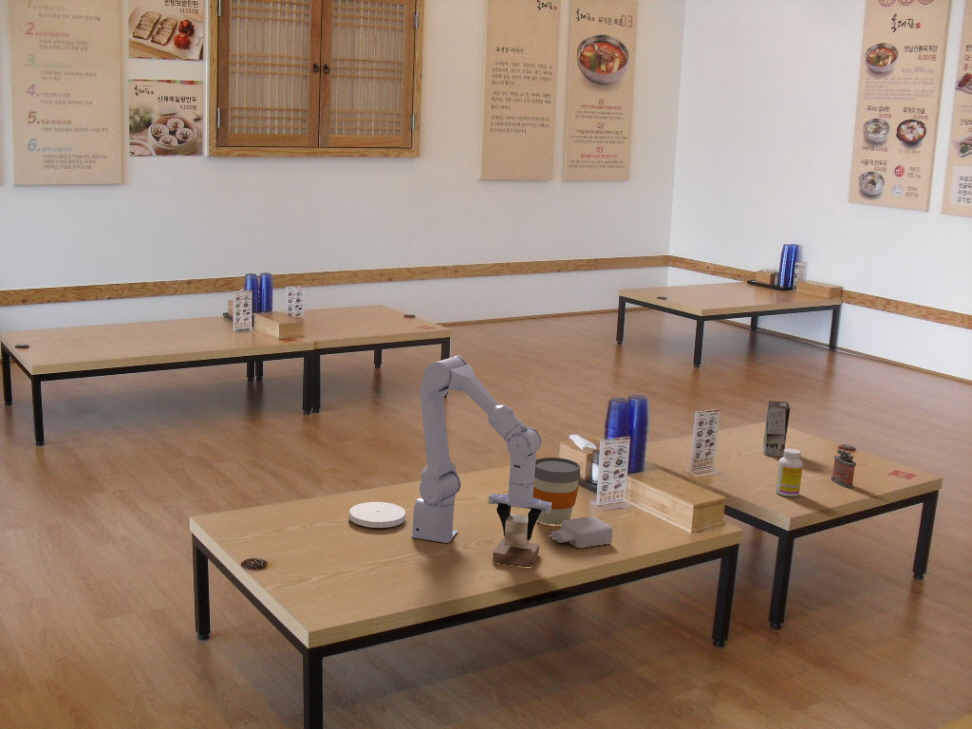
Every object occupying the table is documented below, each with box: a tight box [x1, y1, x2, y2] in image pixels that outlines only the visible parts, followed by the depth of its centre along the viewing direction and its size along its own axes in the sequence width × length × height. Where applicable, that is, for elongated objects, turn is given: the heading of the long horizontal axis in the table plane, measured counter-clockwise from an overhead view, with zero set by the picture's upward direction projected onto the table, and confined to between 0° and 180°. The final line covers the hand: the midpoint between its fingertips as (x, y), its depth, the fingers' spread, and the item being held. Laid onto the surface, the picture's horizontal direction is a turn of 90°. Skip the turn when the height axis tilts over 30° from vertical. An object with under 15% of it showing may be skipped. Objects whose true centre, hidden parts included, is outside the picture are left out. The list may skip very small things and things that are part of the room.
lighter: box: [830, 448, 857, 489], centre depth 323 cm, size 8×3×10 cm, turn 22°
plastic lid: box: [348, 501, 407, 529], centre depth 272 cm, size 14×14×2 cm
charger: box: [547, 515, 613, 549], centre depth 265 cm, size 5×9×15 cm
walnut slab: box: [492, 538, 540, 568], centre depth 253 cm, size 9×9×3 cm
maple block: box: [503, 513, 531, 548], centre depth 252 cm, size 5×5×6 cm
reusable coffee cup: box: [533, 456, 581, 525], centre depth 278 cm, size 13×12×15 cm
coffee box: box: [762, 400, 791, 458], centre depth 350 cm, size 9×6×16 cm
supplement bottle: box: [775, 448, 804, 498], centre depth 310 cm, size 7×7×13 cm
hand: (517, 536), depth 252 cm, fingers closed on maple block, 5 cm apart
